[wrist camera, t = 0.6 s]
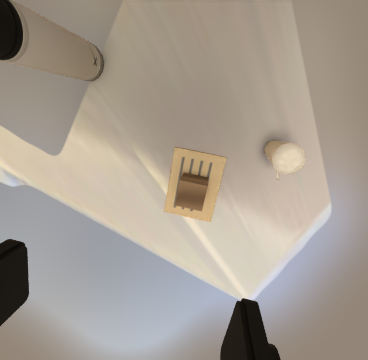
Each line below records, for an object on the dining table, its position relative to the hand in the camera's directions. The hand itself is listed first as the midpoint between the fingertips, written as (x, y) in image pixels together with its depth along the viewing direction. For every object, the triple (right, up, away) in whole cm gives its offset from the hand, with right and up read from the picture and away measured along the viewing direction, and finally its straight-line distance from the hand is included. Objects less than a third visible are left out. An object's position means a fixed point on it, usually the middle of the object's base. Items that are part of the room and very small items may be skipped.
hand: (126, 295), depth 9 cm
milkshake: (+18, +10, +29) cm, 36 cm away
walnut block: (+4, +4, +33) cm, 33 cm away
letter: (+4, +4, +33) cm, 34 cm away
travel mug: (-15, +26, +28) cm, 41 cm away
